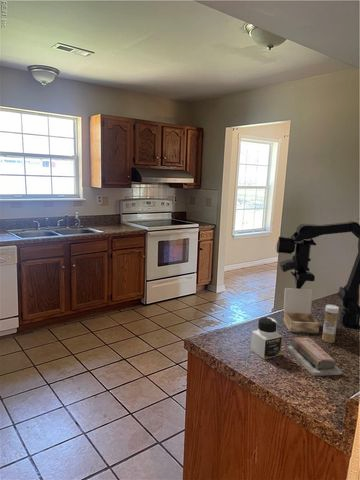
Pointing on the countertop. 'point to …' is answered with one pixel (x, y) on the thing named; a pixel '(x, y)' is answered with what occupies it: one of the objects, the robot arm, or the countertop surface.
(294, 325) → the box
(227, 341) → the countertop surface
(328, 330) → the sprinkles bottle
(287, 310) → the lid
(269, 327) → the medicine bottle
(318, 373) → the packaged product
